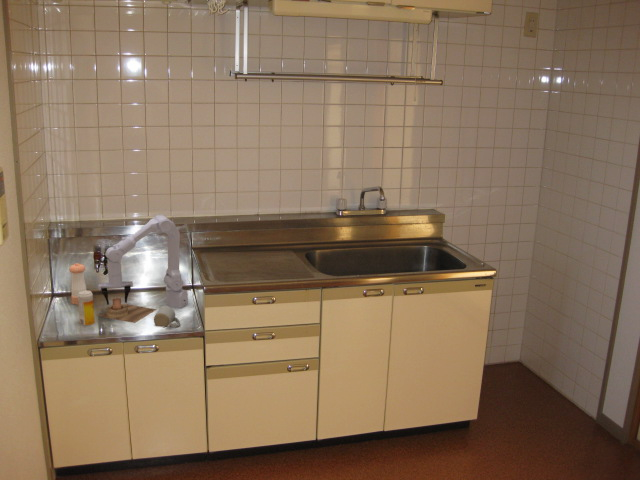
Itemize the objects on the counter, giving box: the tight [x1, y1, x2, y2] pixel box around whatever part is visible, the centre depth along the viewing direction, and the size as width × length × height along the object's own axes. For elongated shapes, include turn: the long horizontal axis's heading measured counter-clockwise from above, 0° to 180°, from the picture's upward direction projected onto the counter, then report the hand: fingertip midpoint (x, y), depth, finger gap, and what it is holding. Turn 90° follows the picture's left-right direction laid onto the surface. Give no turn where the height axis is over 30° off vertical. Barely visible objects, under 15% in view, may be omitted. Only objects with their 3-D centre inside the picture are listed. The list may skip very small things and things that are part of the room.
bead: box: [105, 303, 128, 318], centre depth 295 cm, size 9×9×3 cm
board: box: [98, 303, 158, 324], centre depth 297 cm, size 19×17×1 cm
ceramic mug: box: [153, 305, 181, 329], centre depth 287 cm, size 11×8×8 cm
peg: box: [112, 297, 122, 310], centre depth 294 cm, size 4×4×7 cm
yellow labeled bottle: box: [77, 289, 96, 326], centre depth 284 cm, size 6×6×15 cm
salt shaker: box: [68, 262, 87, 306], centre depth 309 cm, size 7×7×19 cm
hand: (116, 303), depth 294 cm, fingers open, 7 cm apart
